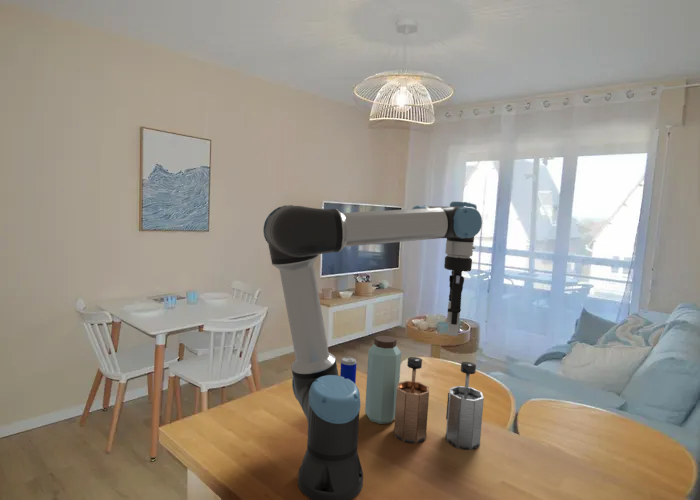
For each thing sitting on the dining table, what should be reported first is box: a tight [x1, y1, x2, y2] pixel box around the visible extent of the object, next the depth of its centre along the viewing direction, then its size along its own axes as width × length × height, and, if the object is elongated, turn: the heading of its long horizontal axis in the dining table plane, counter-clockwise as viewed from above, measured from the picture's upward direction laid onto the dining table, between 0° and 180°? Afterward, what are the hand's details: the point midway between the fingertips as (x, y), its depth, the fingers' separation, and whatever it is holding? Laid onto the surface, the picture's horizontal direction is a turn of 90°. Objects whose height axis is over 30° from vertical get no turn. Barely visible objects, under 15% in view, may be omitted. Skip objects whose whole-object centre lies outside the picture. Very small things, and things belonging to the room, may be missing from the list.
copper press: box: [393, 380, 430, 444], centre depth 119 cm, size 9×10×14 cm
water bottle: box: [364, 335, 402, 425], centre depth 127 cm, size 10×10×25 cm
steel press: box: [445, 385, 485, 451], centre depth 117 cm, size 9×10×14 cm
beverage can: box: [339, 356, 358, 384], centre depth 136 cm, size 5×5×15 cm
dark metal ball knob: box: [456, 361, 477, 400], centre depth 116 cm, size 7×7×11 cm
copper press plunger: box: [403, 356, 423, 394], centre depth 118 cm, size 7×7×11 cm
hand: (451, 329), depth 119 cm, fingers open, 13 cm apart
